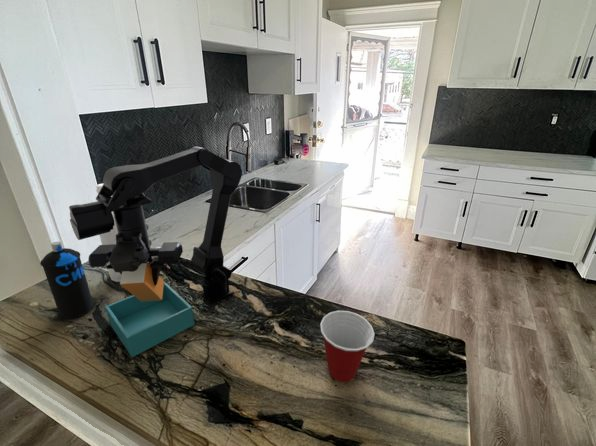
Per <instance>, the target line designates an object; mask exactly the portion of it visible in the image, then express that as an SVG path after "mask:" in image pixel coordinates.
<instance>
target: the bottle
mask: <svg viewBox="0 0 596 446" xmlns="http://www.w3.org/2000/svg"><path fill="white" fill-rule="evenodd" d="M103 184H104V183H103V182H102V183H98V184H96V186H95V187H96V193H97V194H98V193H99V192H100V190H101V188H102V186H103ZM112 196H113V195H112ZM112 196H111V197H112ZM112 215H113V218H114V214H113V212H112ZM114 223H115V224H114V226H113V229H112V230H111V231H110V232H108V233H104V234H100V235H99V238H100V243H101V245H113V244H115V245H116V235H117V234H118V231H117V226H116V222H115V218H114ZM107 265H108V263H107V264H106V266H107ZM107 270H108V275H109V277H110V280H111V282H112V281H113V282H116V283H120V281H121V276H122V275H121V274H120V273H119V272H115V271H114V269H108V268H107Z"/></svg>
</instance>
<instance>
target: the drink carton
mask: <svg viewBox="0 0 596 446" xmlns="http://www.w3.org/2000/svg"><path fill="white" fill-rule="evenodd" d="M149 265H150V263H149V262H148V261H147V263H144V264H141V265H140V266H139V267H138V269H137V270H136V271H133V272H129V271H123V272H122V276H121V281H120V282H119V285H120V286H121V287H122V288H124V289H125V290H126V291H127V292H128V293H130V294H131V296H133V295H134V296H135V297H136V298H137V299H139V300H140V301H141V302H145V301H157V300H162V296H163V287H164V283H165V281H164V279H162V277H161V276H160V275H159V278H158V282H157V285H154V282H153V276H152V268H151V267H150V266H149Z"/></svg>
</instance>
